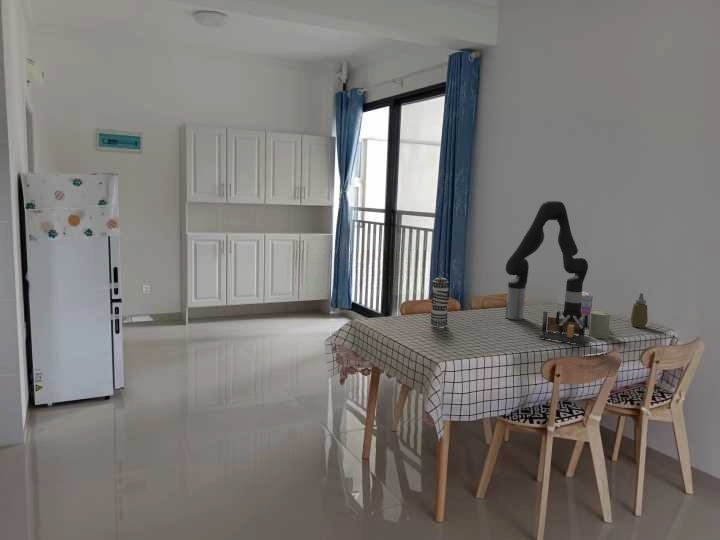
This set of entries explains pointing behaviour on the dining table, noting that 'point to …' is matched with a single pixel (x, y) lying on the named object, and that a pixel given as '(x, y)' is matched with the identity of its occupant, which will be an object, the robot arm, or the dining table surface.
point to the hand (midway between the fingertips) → (570, 334)
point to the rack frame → (553, 331)
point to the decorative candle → (439, 302)
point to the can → (599, 324)
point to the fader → (570, 331)
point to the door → (555, 327)
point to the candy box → (586, 305)
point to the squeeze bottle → (639, 312)
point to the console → (564, 338)
